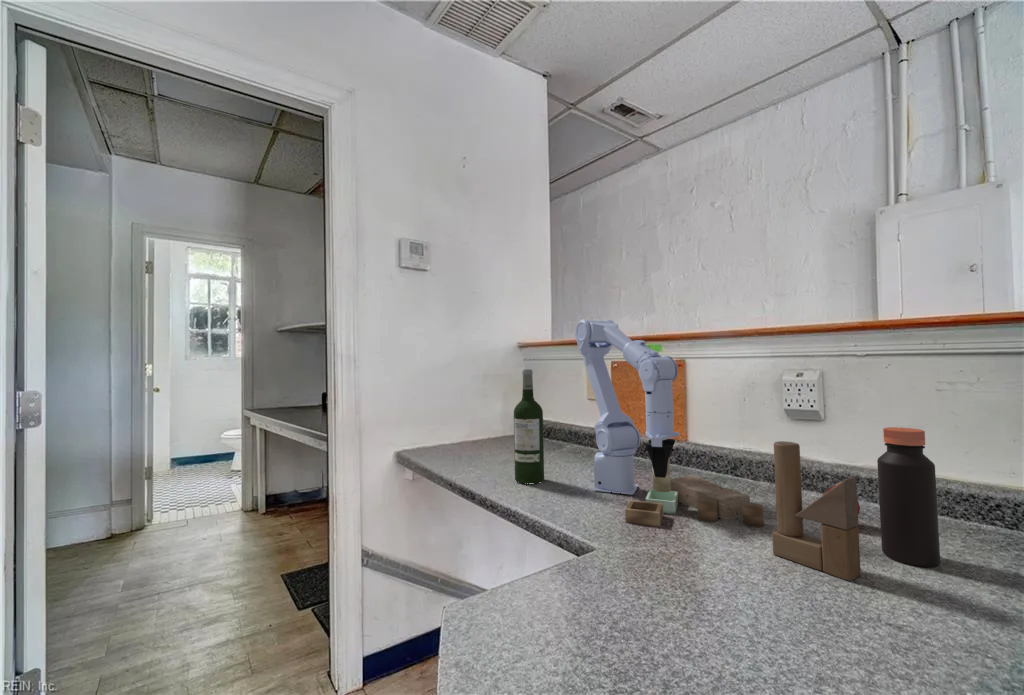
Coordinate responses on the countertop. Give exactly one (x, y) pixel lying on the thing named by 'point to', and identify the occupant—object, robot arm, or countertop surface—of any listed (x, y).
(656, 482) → the dowel
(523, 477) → the wine bottle
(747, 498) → the brick
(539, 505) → the countertop surface
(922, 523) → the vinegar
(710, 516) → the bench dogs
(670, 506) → the tray
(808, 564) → the wooden block
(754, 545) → the countertop surface
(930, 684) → the countertop surface
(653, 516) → the socket block
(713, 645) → the countertop surface
